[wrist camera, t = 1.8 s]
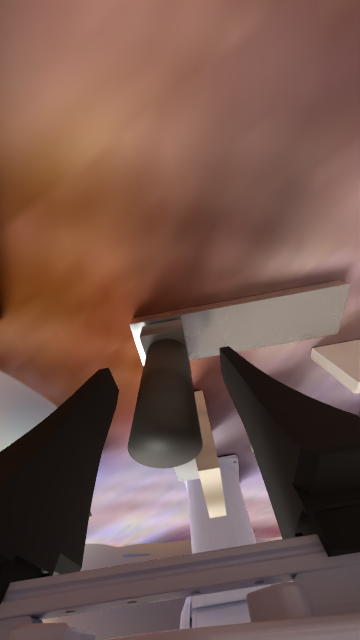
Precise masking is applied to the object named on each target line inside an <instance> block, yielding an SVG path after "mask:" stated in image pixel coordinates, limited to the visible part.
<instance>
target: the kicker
mask: <svg viewBox="0 0 360 640" xmlns="http://www.w3.org/2000/svg"><path fill="white" fill-rule="evenodd" d="M139 338H140V341H141V344H142V347H143V350H144V354H145V362H144V367H143V372H142V377H141V382H140V387H139V392H138V397H137V402H136V407H135V413H134V418H133V423H132V428H131V433H130V438H129V443H128V452H129V454H130V455H131V457H132V458H133V459H134V460H135V461H137V462H138V463H140V464H142V465H145V466H149V467H154V468H172V467H174V469H175V471H176V474H177V477H178V480H179V482H182V481H188V480H194V479H200V481H201V485H202V489H203V493H204V497H205V501H206V505H207V509H208V513H209V517H210V518H214V517H221V516H227V515H226V508H225V501H224V494H223V487H222V480H221V473H220V466H219V462H218V457H217V453H216V449H215V444H214V440H213V435H212V431H211V426H210V422H209V418H208V413H207V409H206V404H205V400H204V395H203V391H202V390H201V391H196V392H194V388H193V382H192V377H191V368H190V362H189V357H188V351H187V346H186V341H185V336H184V330H183V325H182V320H181V319H179V320H174V321H168V322H163V323H157V324H152V325H147V326H142V329H141V333H140V336H139Z"/></svg>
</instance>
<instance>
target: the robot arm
mask: <svg viewBox="0 0 360 640" xmlns="http://www.w3.org/2000/svg"><path fill="white" fill-rule="evenodd" d="M219 351H220V362H221V372H222V376H223V379H224V382H225V385H226V387H227V390H228V392H229V394H230V396H231V398H232V400H233V403H234V405H235V407H236V409H237V411H238V413H239V415H240V418H241V420H242V422H243V424H244V427H245V429H246V432H247V435H248V437H249V440H250V443H251V446H252V448H253V451H254V454H255V457H256V460H257V463H258V466H259V468H260V471H261V474H262V477H263V480H264V483H265V486H266V489H267V492H268V495H269V498H270V501H271V504H272V507H273V510H274V513H275V516H276V520H277V523H278V526H279V529H280V532H281V535H282V538H283V539H282V540H275V541H269V542H263V543H256V540H255V536H254V533H253V529H252V526H251V522H250V519H249V515H248V512H247V509H246V505H245V502H244V498H243V495H242V491H241V488H240V485H239V467H238V457H237V456H236V455H230V456H224V457H218V462H219V466H220V473H221V480H222V487H223V494H224V501H225V508H226V515H227V516H221V517H214V518H210V517H209V513H208V509H207V505H206V501H205V497H204V493H203V489H202V485H201V481H200V479H194V480H188V481H184V483H185V486H186V489H187V492H188V503H189V517H190V530H191V542H192V554H187V555H182V556H175V557H168V558H162V559H156V560H149V561H143V562H137V563H131V564H124V565H118V566H111V567H105V568H99V569H93V570H86V571H80V570H81V568H82V561H83V554H84V546H85V540H86V533H87V526H88V520H89V514H90V508H91V503H92V497H93V492H94V487H95V482H96V477H97V472H98V467H99V463H100V458H101V454H102V450H103V447H104V443H105V440H106V437H107V434H108V431H109V428H110V425H111V422H112V418H113V415H114V412H115V409H116V405H117V400H118V394H119V390H118V387H117V385H116V383H115V381H114V379H113V376H112V374H111V372H110V370H109V368H105V369H99V370H98V371H97V372H96V373H95V374H94V375H93V376H92V377H91V378H89V379H88V380H87V381H86V382H85V383H84V384H83V385H82V386H81V387H80V388H79V389H78V390H77V391H76V392H75V393H74V394H73V395H72V396H71V397H69V398H68V399H67V400H66V401H65V402H64V403H63V404H62V405H61V406H59V407H58V408H57V409H56V410H55V411H54V412H53V413H51V414H50V415H49V416H48V417H47V418H45V419H44V420H43V421H42V422H41V423H39V424H38V425H37V426H35V427H34V428H33V429H31V430H30V431H29V432H28V433H26V434H25V435H23V436H22V437H21V438H19V439H18V440H16V441H15V442H14V443H12V444H11V445H10V446H8V447H7V448H5V449H4V450H2V451H1V452H0V640H95V636H96V635H95V632H94V631H89V630H82V629H77V628H74V627H71V626H70V625H68V624H67V623H43V622H42V620H41V619H47V618H54V617H61V616H67V615H74V614H80V613H87V612H93V611H99V610H106V609H113V608H119V607H126V606H132V605H139V604H144V603H151V602H158V601H164V600H170V599H177V598H184V597H187V598H186V601H185V605H184V607H183V610H182V613H181V620H180V629H179V630H170V631H160V632H152V633H145V634H137V635H130V636H123V637H116V638H109V639H103V640H360V416H357V415H354V414H352V413H349V412H346V411H343V410H340V409H338V408H335V407H332V406H330V405H328V404H325V403H323V402H320V401H318V400H315V399H313V398H311V397H309V396H306V395H304V394H302V393H300V392H298V391H296V390H294V389H292V388H290V387H288V386H286V385H284V384H282V383H281V382H279V381H277V380H275V379H273V378H272V377H270V376H268V375H267V374H265V373H264V372H262V371H261V370H259V369H258V368H256V367H255V366H254V365H252V364H251V363H250V362H248V361H247V360H246V359H244V358H243V357H242V356H240V355H239V354H238V353H237V352H236V351H234V350H233V349H232V348H231V347H229V346H226V347H221V348H219ZM79 571H80V572H79ZM288 581H294V582H288ZM281 582H282V583H281Z"/></svg>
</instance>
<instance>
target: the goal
mask: <svg viewBox="0 0 360 640" xmlns="http://www.w3.org/2000/svg"><path fill="white" fill-rule="evenodd" d="M310 358H311V359H312V360H314V361H315V362H316V363H317V364H318V365H320V366H321V367H322V368H323V369H325V370H326V371H327V372H328V373H329V374H331V375H332V376H333V377H334V378H335V379H337V380H338V381H339V382H340V383H342V384H343V385H344V386H345V387H346V388H348V389H349V390H350V391H351V392H352V393H354V394H357V393H360V339H359V340H354V341H348V342H343V343H337V344H332V345H326V346H320V347H315V348H312V351H311V357H310Z"/></svg>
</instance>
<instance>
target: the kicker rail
mask: <svg viewBox="0 0 360 640" xmlns="http://www.w3.org/2000/svg"><path fill="white" fill-rule="evenodd" d="M349 288H350V283H346V282H342V281H337V280H335V281H330V282H325V283H319V284H314V285H308V286H303V287H298V288H292V289H287V290H282V291H276V292H271V293H266V294H260V295H255V296H249V297H244V298H239V299H233V300H228V301H223V302H217V303H212V304H206V305H201V306H196V307H190V308H185V309H180V310H174V311H169V312H163V313H158V314H153V315H147V316H142V317H137V318H132V321H131V323H130V327H131V330H132V333H133V336H134V339H135V342H136V345H137V348H138V351H139V354H140V357H141V360H142V363H143V366H144V362H145V354H144V350H143V347H142V344H141V341H140V338H139V336H140V333H141V329H142V326H147V325H152V324H157V323H163V322H168V321H174V320H179V319H181V320H182V325H183V330H184V336H185V341H186V346H187V351H188V357H189V360H195V359H201V358H206V357H212V356H217V355H220V351H219V348H221V347H226V346H229V347H231V348H232V349H233V350H234V351H236V352H239V351H245V350H251V349H256V348H262V347H267V346H273V345H278V344H284V343H289V342H295V341H300V340H306V339H312V338H317V337H323V336H328V335H334V334H338V332H339V328H340V324H341V320H342V316H343V312H344V308H345V304H346V300H347V296H348V292H349Z"/></svg>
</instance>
